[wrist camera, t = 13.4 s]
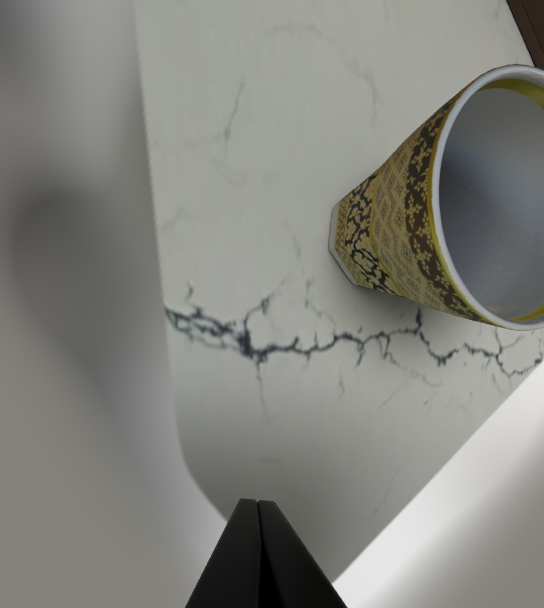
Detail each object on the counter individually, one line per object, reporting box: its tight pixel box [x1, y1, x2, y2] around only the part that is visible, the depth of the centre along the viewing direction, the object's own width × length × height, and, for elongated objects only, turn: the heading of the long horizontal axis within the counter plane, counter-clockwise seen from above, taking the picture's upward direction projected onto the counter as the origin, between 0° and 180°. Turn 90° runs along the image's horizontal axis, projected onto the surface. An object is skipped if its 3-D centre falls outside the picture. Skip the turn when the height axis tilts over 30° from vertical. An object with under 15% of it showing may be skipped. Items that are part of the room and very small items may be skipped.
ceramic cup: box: [328, 64, 544, 331], centre depth 18 cm, size 13×10×10 cm
